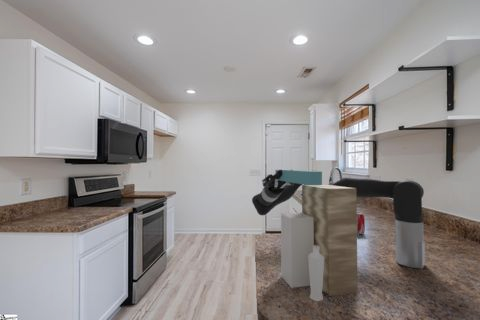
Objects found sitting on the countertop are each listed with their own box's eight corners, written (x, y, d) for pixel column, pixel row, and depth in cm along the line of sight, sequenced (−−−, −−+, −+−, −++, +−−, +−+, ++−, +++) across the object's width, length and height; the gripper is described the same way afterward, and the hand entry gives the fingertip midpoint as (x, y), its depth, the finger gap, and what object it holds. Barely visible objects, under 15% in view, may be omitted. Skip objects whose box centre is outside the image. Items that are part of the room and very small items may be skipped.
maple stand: (302, 272, 85) (302, 184, 86) (326, 269, 88) (325, 184, 89) (329, 296, 70) (328, 188, 71) (357, 291, 72) (356, 188, 73)
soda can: (366, 235, 132) (366, 214, 132) (353, 234, 133) (352, 213, 133) (362, 232, 139) (362, 212, 139) (349, 231, 140) (349, 211, 140)
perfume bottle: (305, 293, 71) (305, 243, 71) (319, 293, 71) (319, 243, 72) (311, 302, 66) (311, 249, 67) (326, 301, 67) (325, 248, 67)
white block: (281, 276, 82) (281, 213, 83) (301, 274, 84) (301, 212, 85) (291, 287, 74) (291, 218, 75) (313, 284, 76) (313, 217, 77)
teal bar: (275, 179, 93) (275, 169, 93) (284, 179, 94) (284, 169, 94) (309, 185, 67) (309, 171, 67) (321, 185, 68) (321, 171, 68)
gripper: (289, 198, 101) (306, 180, 87) (257, 199, 98) (270, 180, 83) (285, 182, 105) (301, 163, 90) (255, 182, 101) (267, 162, 87)
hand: (286, 171), depth 87 cm, fingers closed on teal bar, 4 cm apart
